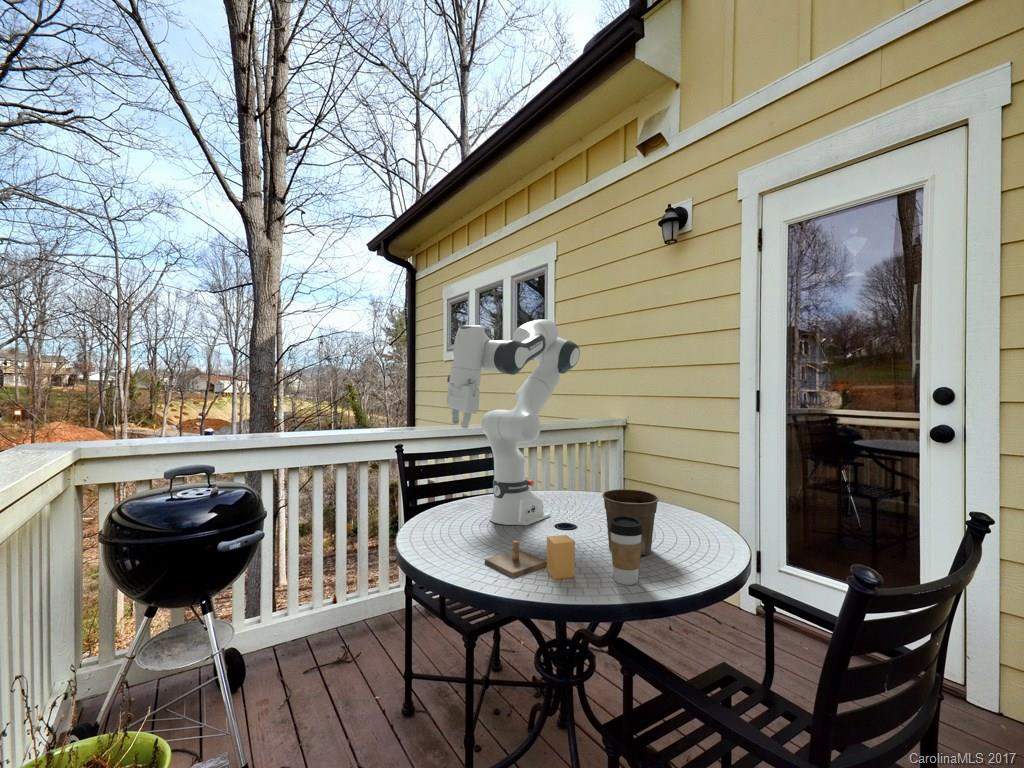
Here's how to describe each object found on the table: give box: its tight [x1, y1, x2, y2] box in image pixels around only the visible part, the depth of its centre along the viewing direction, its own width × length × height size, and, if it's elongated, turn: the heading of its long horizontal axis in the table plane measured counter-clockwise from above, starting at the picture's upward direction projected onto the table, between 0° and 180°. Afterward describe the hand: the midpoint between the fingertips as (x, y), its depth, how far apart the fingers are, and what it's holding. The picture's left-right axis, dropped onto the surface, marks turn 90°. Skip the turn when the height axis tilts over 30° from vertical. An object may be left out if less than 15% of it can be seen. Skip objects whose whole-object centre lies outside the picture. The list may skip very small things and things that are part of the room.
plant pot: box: [602, 488, 660, 557], centre depth 141 cm, size 16×16×16 cm
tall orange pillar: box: [546, 534, 576, 580], centre depth 123 cm, size 6×6×9 cm
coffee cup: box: [609, 516, 643, 586], centre depth 120 cm, size 8×8×15 cm
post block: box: [484, 540, 547, 578], centre depth 130 cm, size 12×12×6 cm
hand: (459, 426), depth 140 cm, fingers open, 8 cm apart
